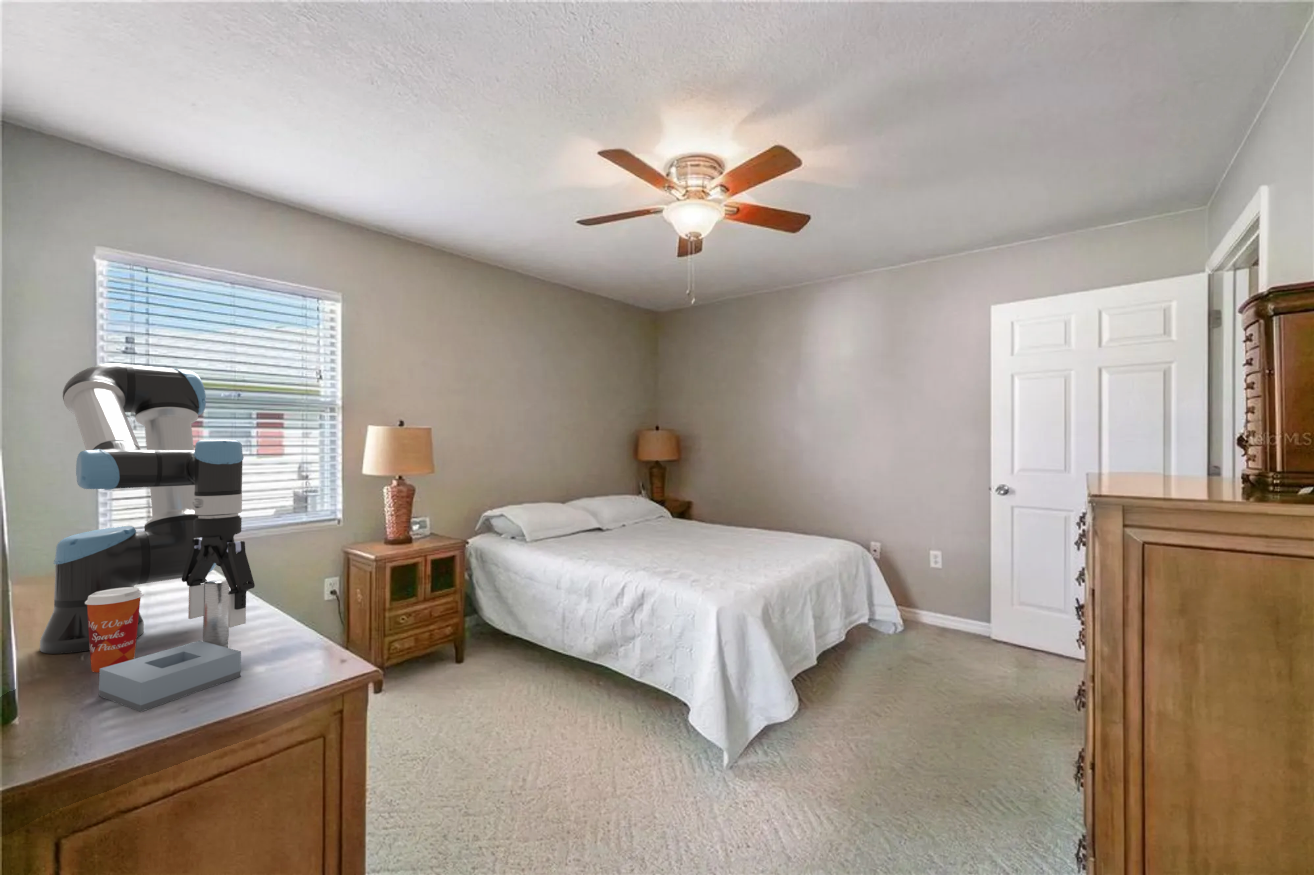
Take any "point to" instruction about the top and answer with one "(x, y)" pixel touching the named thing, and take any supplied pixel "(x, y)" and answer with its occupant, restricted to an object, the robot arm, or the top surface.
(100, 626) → the paper cup
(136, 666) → the socket block
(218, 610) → the pin
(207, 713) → the top surface
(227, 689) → the top surface
